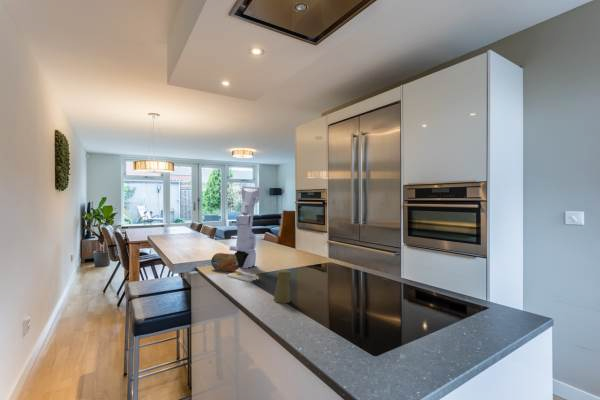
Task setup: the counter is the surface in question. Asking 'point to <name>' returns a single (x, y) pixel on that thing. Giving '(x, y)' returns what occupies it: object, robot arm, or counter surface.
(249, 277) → the label board
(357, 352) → the counter surface
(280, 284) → the olive green tapered cylinder
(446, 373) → the counter surface
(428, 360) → the counter surface
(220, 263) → the tin
